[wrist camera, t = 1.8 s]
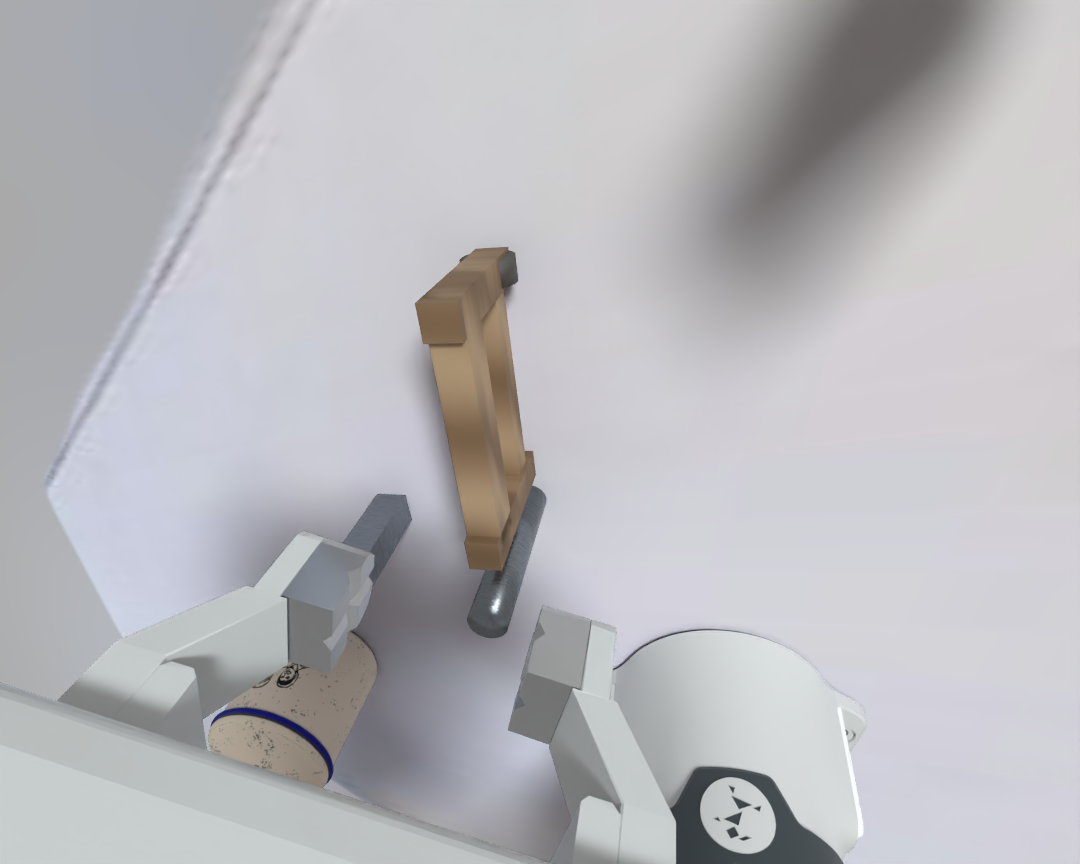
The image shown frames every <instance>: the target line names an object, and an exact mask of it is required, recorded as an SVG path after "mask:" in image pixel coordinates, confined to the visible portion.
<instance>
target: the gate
mask: <svg viewBox="0 0 1080 864" xmlns="http://www.w3.org/2000/svg"><path fill="white" fill-rule="evenodd" d="M517 281H518V274H517V266H516V257H515V253H514V252H512V251H508V247H500V248H482V249H475V250H474V251H473V252H472V253H471V254H469V255H466V256H464V257H462V258H461V259H460V263H459V264H458V265H457V266H456V267H455V268H454V269H453V270H452V271H451V272H449V273H448V274H447V275H446V276H445V277H444V278H443V279H442V280H440V281H439V282H438V283H437V284H436V285H435V286H434V287H433V288H432V289H430V290H429V291H428V292H427V293H426V294H425V295H424V296H423V297H422V298H420V299H419V300H418V301H417V302H416V303H415V306H416V311H417V316H418V320H419V325H420V330H421V335H422V340H423V344H429V347H430V352H431V357H432V362H433V367H434V372H435V377H436V382H437V387H438V392H439V397H440V402H441V407H442V412H443V417H444V422H445V427H446V432H447V437H448V442H449V447H450V452H451V457H452V462H453V467H454V472H455V476H456V481H457V486H458V491H459V496H460V501H461V506H462V511H463V516H464V521H465V526H466V531H467V537H466V540H465V542H464V544H465V549H466V554H467V559H468V563H469V568H470V569H483V570H498V571H502V569H503V567H504V564H505V561H506V558H507V555H508V552H509V549H510V547H511V544H512V541H513V538H514V535H515V532H516V529H517V527H518V524H519V521H520V518H521V515H522V512H523V509H524V507H525V504H526V501H527V498H528V495H529V492H530V489H531V487H532V484H533V481H534V478H535V475H536V473H535V465H534V456H533V451H524V444H523V436H522V428H521V421H520V413H519V405H518V397H517V390H516V382H515V374H514V367H513V359H512V351H511V344H510V336H509V328H508V320H507V313H506V305H505V297H504V290H505V289H506V288H507V287H509V286H511V285H513V284H515V283H516V282H517Z"/></svg>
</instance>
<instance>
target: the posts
mask: <svg viewBox="0 0 1080 864" xmlns="http://www.w3.org/2000/svg"><path fill="white" fill-rule="evenodd" d="M545 504H546V496H545V494H544V493H543V492H542V491H541V490H540V489H539V488H537V487H535V486H532V487H531V489H530V492H529V495H528V498H527V501H526V504H525V507H524V509H523V512H522V515H521V518H520V521H519V524H518V527H517V529H516V532H515V535H514V538H513V541H512V544H511V547H510V549H509V552H508V555H507V558H506V561H505V564H504V567H503V569H502V571H498V570H485V573H484V576H483V578H482V581H481V583H480V586H479V589H478V591H477V594H476V596H475V599H474V602H473V604H472V607H471V610H470V612H469V615H468V618H467V621H468V624H469V626H470V628H471V629H472V630H473V631H474V632H475V633H477V634H479V635H481V636H483V637H487V638H498V637H501V636H503V635H504V634H505V633H506V632H507V630H508V626H509V623H510V620H511V617H512V613H513V610H514V607H515V603H516V600H517V597H518V593H519V590H520V587H521V584H522V580H523V577H524V574H525V570H526V567H527V564H528V561H529V557H530V554H531V551H532V547H533V544H534V541H535V537H536V534H537V531H538V528H539V524H540V521H541V518H542V514H543V511H544V508H545ZM411 520H412V519H411V515H410V511H409V507H408V503H407V499H406V495H386V494H377V495H376V496H375V498H374V499H373V501H372V502H371V504H370V505H369V506H368V508H367V509H366V511H365V512H364V513H363V515H362V516H361V518H360V519H359V521H358V522H357V523H356V525H355V526H354V528H353V529H352V530H351V532H350V533H349V535H348V536H347V538H346V539H345V540H344V542H343V543H342V544H345V545H348V546H351V547H354V548H357V549H360V550H363V551H366V552H369V553H372V554H373V555H375V557H374V568H373V569H372V571H371V573H370V574H369V578H370V579H371V581H372V582H373V583H372V586H373V585H374V583H375V581H376V580H377V578H378V576H379V575H380V573H381V571H382V569H383V568H384V566H385V564H386V563H387V561H388V559H389V558H390V556H391V554H392V553H393V551H394V549H395V547H396V546H397V544H398V542H399V541H400V539H401V537H402V536H403V534H404V532H405V530H406V529H407V527H408V525H409V524H410V522H411Z"/></svg>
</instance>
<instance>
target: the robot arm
mask: <svg viewBox="0 0 1080 864" xmlns="http://www.w3.org/2000/svg"><path fill="white" fill-rule="evenodd" d="M374 557H375V555H373V554H372V553H369V552H366V551H363V550H360V549H357V548H354V547H351V546H348V545H345V544H342V543H339V542H336V541H333V540H330V539H328V538H324V537H321V536H317V535H314V534H311V533H308V532H305V531H302V532H301V533H299V534H297V535H296V536H295V537H294V538H293V539H292V541H291V542H290V543H289V544H288V545H287V547H286V548H285V549H284V550H283V552H282V553H281V554H280V555H279V556H278V558H277V559H276V560H275V561H274V562H273V564H272V565H271V566H270V567H269V569H268V570H267V571H266V572H265V573H264V575H263V576H262V577H261V578H260V579H259V581H258V582H257V583H256V584H255V586H254V587H249V586H244V587H241V588H239V589H236V590H234V591H232V592H229V593H227V594H225V595H222V596H220V597H218V598H215V599H213V600H211V601H208V602H206V603H204V604H201V605H199V606H197V607H194V608H192V609H190V610H187V611H185V612H182V613H180V614H178V615H175V616H173V617H171V618H168V619H166V620H164V621H161V622H159V623H157V624H154V625H152V626H150V627H147V628H145V629H143V630H140V631H138V632H136V633H133V634H131V635H128V636H126V637H124V638H121V639H119V640H117V641H116V642H115V643H114V644H113V645H112V646H111V647H110V648H109V649H108V650H107V651H106V652H105V653H104V654H103V655H102V656H101V657H100V658H99V659H98V660H97V661H96V662H95V663H94V664H93V665H92V666H91V667H90V668H89V669H88V670H87V671H86V672H85V673H84V674H83V675H82V676H81V677H80V678H79V679H78V680H77V681H76V682H75V683H74V684H73V685H72V686H71V687H70V688H69V689H68V690H67V691H66V692H65V693H64V694H63V695H62V696H61V697H60V698H59V699H58V700H57V701H56V700H53V699H49V698H47V697H43V696H40V695H37V694H34V693H31V692H28V691H25V690H22V689H19V688H16V687H13V686H10V685H7V684H4V683H1V682H0V864H843V862H842V861H843V859H844V857H845V856H846V854H847V853H849V852H850V851H851V850H852V849H853V848H854V846H855V844H856V841H857V838H859V837H861V836H862V835H863V820H862V815H861V809H860V804H859V799H858V793H857V788H856V783H855V777H854V772H853V767H852V762H851V757H850V753H851V751H852V750H853V748H854V746H855V745H856V743H857V742H858V740H859V739H860V737H861V736H862V734H863V733H864V731H865V729H866V727H867V721H866V715H865V710H864V708H863V707H862V706H861V705H860V704H858V703H857V702H855V701H854V700H852V699H850V698H848V697H846V696H845V695H843V694H841V693H839V692H837V691H835V690H833V689H832V688H831V687H830V686H829V685H828V684H827V683H826V682H825V681H824V679H823V678H822V677H821V676H820V674H819V673H818V672H817V671H816V670H815V669H814V667H813V666H812V665H810V664H809V663H808V662H807V661H806V660H805V659H803V658H802V657H801V656H799V655H798V654H796V653H795V652H793V651H791V650H789V649H788V648H786V647H784V646H782V645H780V644H777V643H775V642H772V641H770V640H767V639H764V638H761V637H757V636H753V635H749V634H744V633H738V632H731V631H719V630H704V631H691V632H685V633H680V634H675V635H671V636H668V637H665V638H662V639H659V640H657V641H654V642H652V643H650V644H648V645H647V646H645V647H643V648H642V649H640V650H639V651H638V652H636V653H635V654H634V655H633V656H632V657H631V658H630V659H629V660H628V661H626V662H625V663H624V664H623V665H622V666H621V667H619V668H617V669H615V670H613V662H614V652H615V643H616V633H617V631H616V628H615V627H614V626H610V625H607V624H604V623H600V622H597V621H594V620H591V621H590V619H588V618H585V617H581V616H578V615H574V614H571V613H568V612H564V611H561V610H557V609H554V608H551V607H547V606H544V605H543V606H542V609H541V612H540V615H539V618H538V621H537V625H536V629H535V632H534V633H533V637H532V640H531V643H530V647H529V650H528V653H527V656H526V660H525V664H524V668H523V671H522V675H521V683H520V686H519V689H518V692H517V695H516V698H515V702H514V706H513V710H512V715H511V719H510V723H509V727H508V730H509V731H512V732H515V733H517V734H520V735H523V736H526V737H529V738H532V739H535V740H538V741H540V742H543V743H546V744H549V745H550V746H549V749H550V752H551V755H552V759H553V762H554V765H555V769H556V772H557V775H558V778H559V782H560V785H561V788H562V792H563V795H564V798H565V801H566V805H567V808H568V811H569V815H570V818H571V822H570V824H569V826H568V828H567V830H566V832H565V834H564V836H563V838H562V840H561V841H560V843H559V845H558V847H557V849H556V851H555V853H554V855H553V857H552V859H551V861H550V863H549V862H546V861H542V860H539V859H536V858H533V857H530V856H527V855H524V854H521V853H518V852H515V851H512V850H509V849H506V848H503V847H500V846H497V845H494V844H491V843H488V842H485V841H482V840H479V839H476V838H473V837H470V836H467V835H464V834H461V833H457V832H454V831H451V830H448V829H445V828H442V827H439V826H436V825H433V824H430V823H427V822H424V821H421V820H418V819H415V818H412V817H409V816H406V815H403V814H400V813H397V812H394V811H391V810H388V809H385V808H382V807H379V806H375V805H372V804H369V803H366V802H363V801H360V800H357V799H354V798H351V797H348V796H345V795H342V794H339V793H336V792H333V791H330V790H327V789H324V788H321V787H318V786H314V785H311V784H308V783H305V782H302V781H299V780H296V779H293V778H290V777H287V776H284V775H281V774H278V773H275V772H272V771H269V770H266V769H263V768H260V767H257V766H254V765H250V764H247V763H244V762H241V761H238V760H235V759H232V758H229V757H226V756H223V755H220V754H217V753H214V752H211V751H208V750H207V747H206V740H205V733H204V726H203V719H204V718H206V717H207V716H209V715H210V714H212V713H213V712H215V711H216V710H218V709H220V708H221V707H223V706H224V705H226V704H227V703H229V702H230V701H232V700H233V699H235V698H236V697H238V696H240V695H241V694H243V693H244V692H246V691H247V690H249V689H250V688H252V687H253V686H255V685H257V684H258V683H260V682H261V681H263V680H264V679H266V678H267V677H269V676H270V675H272V674H273V673H275V672H277V671H278V670H280V669H281V668H283V667H284V666H286V665H287V664H288V661H289V662H292V663H296V664H299V665H303V666H306V667H309V668H313V669H316V670H320V671H323V672H327V673H331V671H332V670H333V668H334V666H335V664H336V663H337V661H338V659H339V658H340V656H341V654H342V652H343V651H344V649H345V647H346V645H347V632H349V631H351V630H353V629H355V628H357V626H358V624H359V623H360V621H361V619H362V617H363V615H364V613H365V610H366V608H367V605H368V603H369V600H370V596H371V591H372V583H373V582H372V581H371V579H370V578H369V574H370V573H371V571H372V569H373V568H374Z"/></svg>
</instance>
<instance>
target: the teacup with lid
mask: <svg viewBox="0 0 1080 864" xmlns="http://www.w3.org/2000/svg"><path fill="white" fill-rule="evenodd" d="M377 671H378V669H377V662H376V659H375V657H374V655H373V653H372V651H371V650H370V649H369V647H368V646H367V645H366V644H365V643H364V642H363V641H362V640H361V639H360V638H359V637H358V636H356V635H355V634H354V633H352V632H351V631H349V632H347V645H346V647H345V649H344V651H343V652H342V654H341V656H340V658H339V659H338V661H337V663H336V664H335V666H334V668H333V670H332V671H331V673H327V672H323V671H320V670H316V669H313V668H309V667H306V666H303V665H299V664H296V663H292V662H289V661H288V664H287V665H286V666H284V667H283V668H281V669H280V670H278V671H277V672H275V673H273V674H272V675H270V676H269V677H267V678H266V679H264V680H263V681H261V682H260V683H258V684H257V685H255V686H253V687H252V688H250V689H249V690H247V691H246V692H244V693H243V694H241V695H240V696H238V697H236V698H235V699H233V700H232V701H231V702H230V703H229V704H228V706H227V707H226V709H225V710H224V711H223V712H221V713H219V714H218V715H217V716H216V717H215V718H214V720H213V721H212V724H211V727H210V730H209V735H208V742H209V747H210V749H211V751H212V752H214V753H217V754H220V755H223V756H226V757H229V758H232V759H235V760H238V761H241V762H244V763H247V764H250V765H254V766H257V767H260V768H263V769H266V770H269V771H272V772H275V773H278V774H281V775H284V776H287V777H290V778H293V779H296V780H299V781H302V782H305V783H308V784H311V785H314V786H318V787H321V788H323V787H324V786H325V784H326V783H328V782H329V780H330V779H331V777H332V774H333V765H334V763H335V761H336V759H337V757H338V755H339V753H340V751H341V749H342V747H343V745H344V743H345V741H346V739H347V737H348V735H349V733H350V731H351V729H352V727H353V725H354V723H355V721H356V719H357V717H358V715H359V712H360V710H361V708H362V706H363V704H364V702H365V700H366V698H367V696H368V694H369V692H370V690H371V688H372V686H373V684H374V682H375V680H376V677H377Z"/></svg>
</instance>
